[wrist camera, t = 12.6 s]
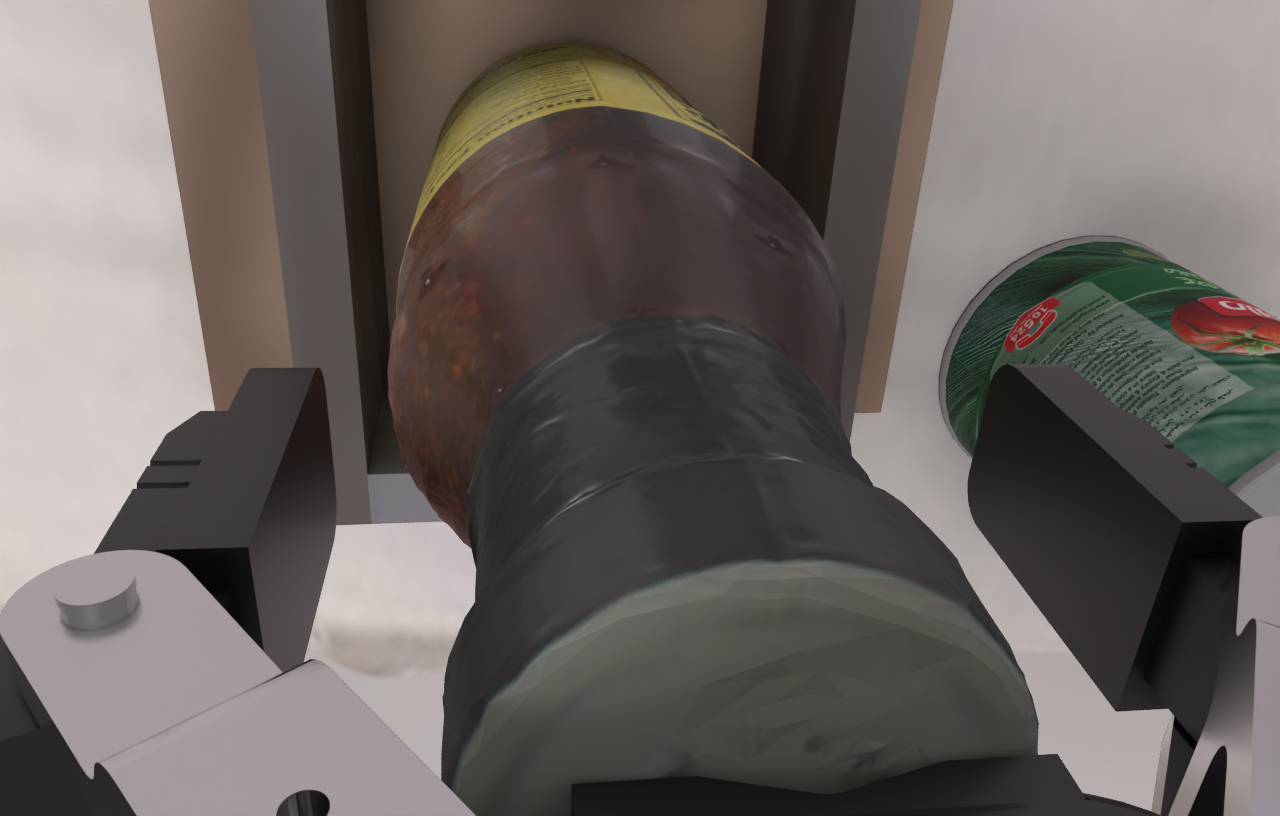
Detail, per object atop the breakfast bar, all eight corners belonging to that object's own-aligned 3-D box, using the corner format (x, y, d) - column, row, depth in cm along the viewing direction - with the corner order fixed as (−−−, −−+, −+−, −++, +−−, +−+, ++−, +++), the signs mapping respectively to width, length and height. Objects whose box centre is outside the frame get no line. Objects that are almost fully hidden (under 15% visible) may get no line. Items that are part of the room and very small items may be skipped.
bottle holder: (960, -147, 23) (1134, -159, 17) (868, 396, 30) (970, 530, 23) (131, -199, 21) (-19, -235, 14) (226, 409, 27) (150, 564, 21)
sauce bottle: (702, 268, 26) (1156, 1060, 8) (461, 307, 26) (414, 1225, 8) (677, -3, 23) (1310, 362, 5) (401, 37, 22) (115, 574, 5)
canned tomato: (902, 460, 31) (1094, 723, 21) (994, 213, 27) (1272, 391, 18) (1126, 488, 33) (1398, 742, 23) (1238, 257, 29) (1612, 442, 20)
